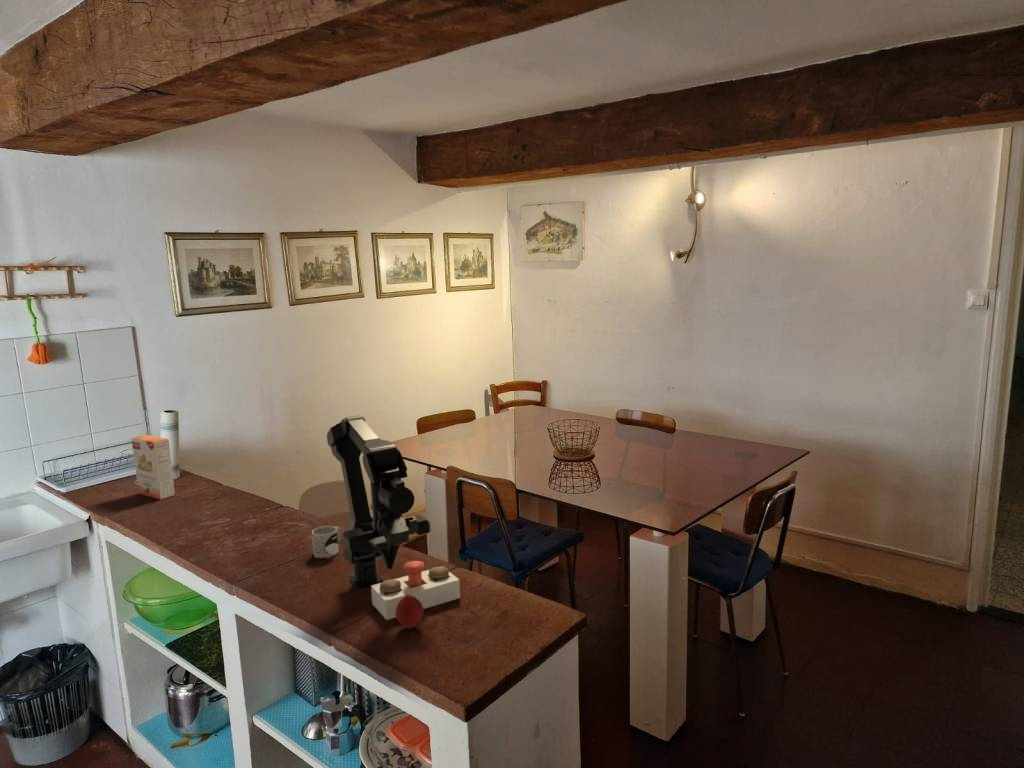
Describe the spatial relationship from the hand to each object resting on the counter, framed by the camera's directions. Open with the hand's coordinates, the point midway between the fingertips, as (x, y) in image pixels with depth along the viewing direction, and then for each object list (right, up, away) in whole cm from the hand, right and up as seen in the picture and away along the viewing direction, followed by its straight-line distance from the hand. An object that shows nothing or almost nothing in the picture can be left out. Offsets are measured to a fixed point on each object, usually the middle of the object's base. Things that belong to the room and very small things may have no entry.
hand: (389, 568), depth 156 cm
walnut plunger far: (+11, -8, +8) cm, 15 cm away
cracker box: (-98, +2, +91) cm, 134 cm away
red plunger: (+5, -5, +4) cm, 9 cm away
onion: (+6, -11, -7) cm, 14 cm away
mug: (-23, -5, +35) cm, 42 cm away
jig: (+5, -9, +5) cm, 11 cm away
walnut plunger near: (0, -9, +2) cm, 9 cm away
